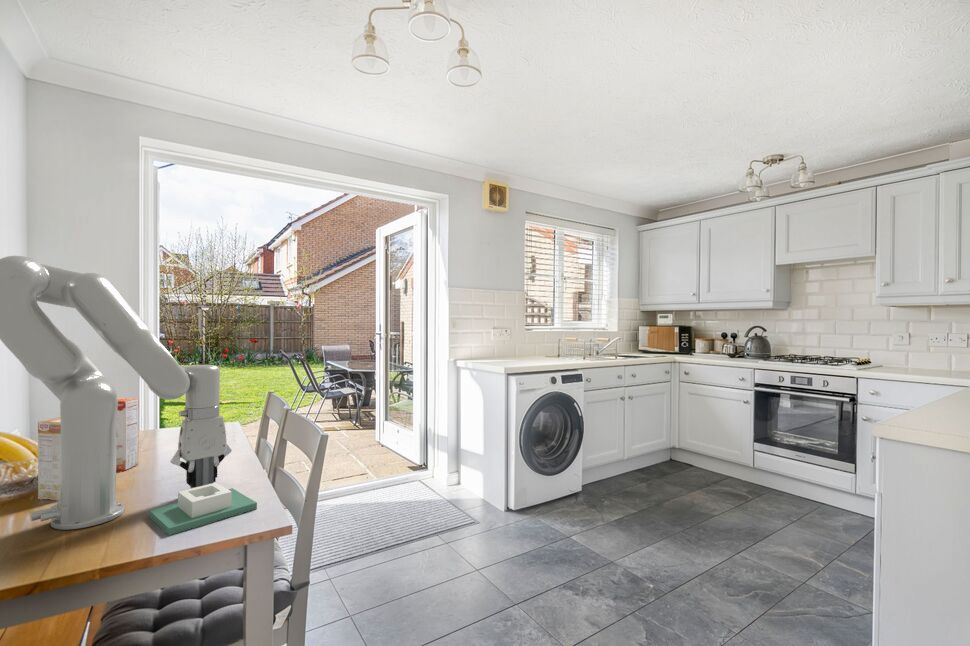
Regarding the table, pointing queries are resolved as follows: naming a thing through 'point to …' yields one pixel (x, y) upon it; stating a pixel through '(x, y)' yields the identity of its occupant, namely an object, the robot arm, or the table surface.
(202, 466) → the plug
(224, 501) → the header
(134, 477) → the table surface
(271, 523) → the table surface
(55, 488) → the coffeecake box
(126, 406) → the cracker box
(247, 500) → the board
